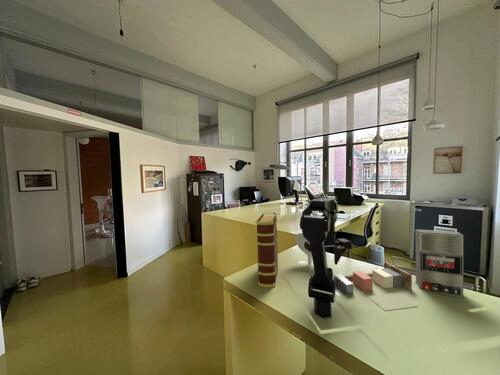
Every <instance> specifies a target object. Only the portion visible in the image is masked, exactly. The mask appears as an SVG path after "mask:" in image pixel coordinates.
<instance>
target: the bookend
mask: <svg viewBox="0 0 500 375" xmlns="http://www.w3.org/2000/svg"><path fill="white" fill-rule="evenodd" d="M344 276H345V275H343V274H341V273H337V274H333V277H334V280H336V293H335V296H336V295H337V296H343V295H344V296H345V295H351V294H354V283H353V282H351V280H347V279H346V278H345V277H344Z"/></svg>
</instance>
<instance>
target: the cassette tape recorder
mask: <svg viewBox="0 0 500 375" xmlns="http://www.w3.org/2000/svg"><path fill="white" fill-rule="evenodd" d="M414 234H415V281H414V283H415V284H416V285H417V287H418V288H419V289H422V290H428V291H430V292H431V293H434V294H440V295H445V296H446V295H447V296H452V297H459V298H462V299H463V298H466V297H465V295H464V243H465V242H464V236H465V235H464V234H462V233H460V232H459V231H449V230H435V229H434V230H432V229H415V233H414Z"/></svg>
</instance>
